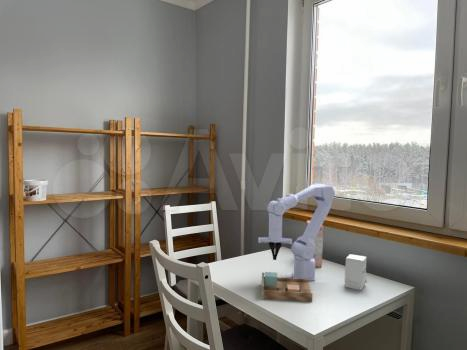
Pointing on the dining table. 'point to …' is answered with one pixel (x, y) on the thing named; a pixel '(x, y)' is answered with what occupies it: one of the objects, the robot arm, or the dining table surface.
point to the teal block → (270, 279)
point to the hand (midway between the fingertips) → (274, 259)
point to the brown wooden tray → (281, 290)
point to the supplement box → (355, 271)
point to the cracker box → (318, 247)
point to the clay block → (293, 288)
